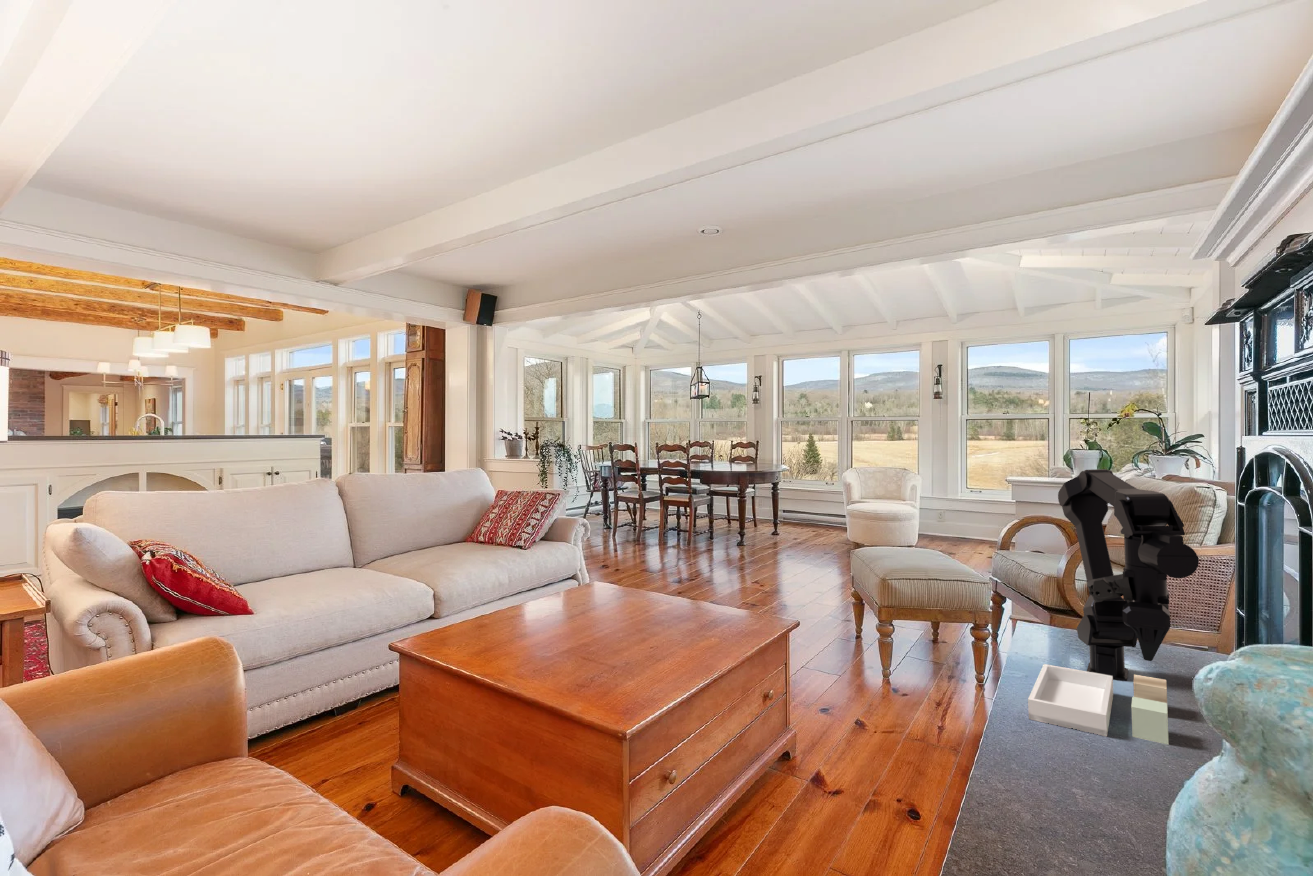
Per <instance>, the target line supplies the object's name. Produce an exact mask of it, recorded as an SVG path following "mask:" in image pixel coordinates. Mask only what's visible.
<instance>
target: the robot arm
mask: <svg viewBox="0 0 1313 876" xmlns="http://www.w3.org/2000/svg"><path fill="white" fill-rule="evenodd" d="M1057 498H1058V499H1057V500H1058V504H1059V505H1060V506H1061V508H1062V511H1063V515H1064V517H1065V518H1067V520H1068V521H1069V522H1070V523H1071V524H1072V525H1073V526H1074V527H1075V531H1076V535H1077V540H1078V545H1079V546H1078V547H1079V550H1080V554H1081V560H1082V565H1083V570H1084V573H1085V578H1086V579H1085V580H1086V583H1087V584H1086V587H1087V588H1088V589H1087V590H1088V595H1089V596H1088V598H1087V600H1086V602H1085V604H1084V605H1083V608H1082V610H1083V616H1082V618H1081V620H1080V622H1079V623H1078V625H1077V626H1076V632H1077V638H1078V639H1079V640H1080V641H1081V642H1083V643H1084V644H1085V645H1086V646H1089V649H1088V650H1089V663H1088V666H1087V669H1086V671H1087V672H1093V673H1099V674H1105V675H1110V676H1113V680H1115V681H1116V680H1117V681H1122V682H1126V681H1128V676H1129V669H1128V668H1127V667H1125V666H1126V665H1125V664H1126V663H1125V647H1126V648H1129V647H1130V648H1136V647H1137V643H1138V644H1139V647H1140V651H1141V655H1142V657H1143V660H1144V661H1146V662H1147V661H1148V662H1149V661H1150V662H1152V661H1153V660H1154V659H1155V656H1156V654H1157V652H1158V651H1159V649H1160V647H1161V644H1162V643H1163V641H1164V639H1165V638H1166V635H1167V634H1168V632H1169V631H1170V628H1171V613H1170V610H1169V609H1170V608H1169V605H1170V594H1169V593H1170V592H1169V590H1168V582H1167V581H1168V577H1170V578H1173V579H1184V578H1185V579H1186V578H1187V577H1190V576H1191V575H1193V574H1194V573H1195V572H1196V571H1197V569H1198V568H1199V563H1200V560H1199V556H1198V554H1197V553H1196V551H1195V550H1194V548H1192V547H1191V546H1190V545H1187V544H1185V543H1184V537H1183V536H1185V535H1186V533H1185V530H1184V526H1185V525H1184V523H1183V521H1182V519H1181V517H1180V515H1179V513H1178V512H1177V510H1176V508H1175V506H1174V504H1173V502H1172V500H1170V499H1169V498H1168V496H1167V495H1166V494H1165V493H1162V492H1159V491H1155V490H1148V489H1140V488H1137V487H1135V486H1133V485H1131V484H1130V483H1128V482H1127V481H1125V480H1123V479H1121V478H1120V477H1118V476H1117V475H1115V474H1114V473H1113V471H1112V470H1110V469H1109V470H1108V469H1106V468H1104V469H1103V468H1102V469H1100V468H1099V469H1095V468H1094V469H1093V468H1091V469H1085V470H1082V471H1080V472H1079V474H1078V475H1077V476H1075V477H1073V478H1071V479H1069V480H1067V481H1066V482H1064V483H1063V484H1062V486H1061V488H1060V489H1059V491H1058V493H1057ZM1109 505H1110V506H1112V507H1113V516H1114V517H1115V518H1116V519H1117V521H1118V523H1119V524H1120V526H1121V529H1120V531H1119V532H1120V534H1121V535H1123V541H1124V545H1123V547H1124V548H1123V549H1124V567H1123V569H1122V570H1123V571H1122V573H1121V574H1114V572H1113V570H1114V569H1113V566H1112V561H1111V557H1110V554H1109V548H1108V544H1107V539H1106V535H1105V531H1104V527H1103V525H1104V524H1103V523H1104V522H1103V521H1104V519H1105V517H1106V515H1107V514H1108V511H1109ZM1167 576H1168V577H1167Z"/></svg>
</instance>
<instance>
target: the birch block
mask: <svg viewBox="0 0 1313 876" xmlns="http://www.w3.org/2000/svg"><path fill="white" fill-rule="evenodd" d="M1167 690H1168V688H1167V679H1163V678H1158V677H1157V678H1156V677H1150V676H1145V675H1139V674H1133V697H1137V698H1143V699H1148V700H1153V701H1159V702H1164V703H1167V704H1168V691H1167ZM1168 713H1169V712H1168V710H1167V715H1169V714H1168Z"/></svg>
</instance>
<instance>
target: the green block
mask: <svg viewBox="0 0 1313 876" xmlns="http://www.w3.org/2000/svg"><path fill="white" fill-rule="evenodd" d="M1130 707H1131V708H1130V709H1131V729H1132V730H1131V733H1132V735H1131V736H1132V738H1136V739H1141V740H1146V741H1148V742H1149V741H1150V742H1154V743H1159V744H1162V745H1168V746H1169V745H1170V744H1169V721H1168V719H1169V716H1168V715H1169V714H1168V715H1167V711H1168V702H1167V703H1164V702H1159V701H1153V700H1148V699H1143V698H1137V697H1134V696H1132V698H1131V705H1130Z"/></svg>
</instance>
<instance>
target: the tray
mask: <svg viewBox="0 0 1313 876" xmlns="http://www.w3.org/2000/svg"><path fill="white" fill-rule="evenodd" d="M1041 667H1042V668H1041V669H1040V672H1039V674H1038V676H1037V679H1036V680H1035V683H1034V685H1033V687H1032V689H1031V692H1030V694H1029V696H1028V698H1027V703H1028V704H1027V705H1028V706H1027V707H1028V708H1027V709H1028V720H1032V721H1034V722H1041V723H1044V724H1048V723H1049V724H1048V725H1053V726H1057V725H1058V726H1059V727H1062V728H1065V729H1071V728H1073V729H1072V730H1075V729H1077V730H1076V731H1079V730H1080V731H1081V732H1084V733H1088V732H1089V733H1088V734H1093V733H1094V734H1093V735H1097V734H1098V735H1097V736H1102V737H1108V731H1109V727H1110V726H1109V725H1110V721H1111V720H1110V719H1111V712H1112V706H1113V699H1114V679H1113V676H1110V675H1105V674H1099V673H1093V672H1087V670H1081V669H1076V668H1071V667H1070V668H1069V667H1064V666H1059V665H1058V666H1057V665H1053V664H1052V665H1051V664H1048V663H1047V664H1046V663H1043V665H1042V666H1041Z"/></svg>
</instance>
